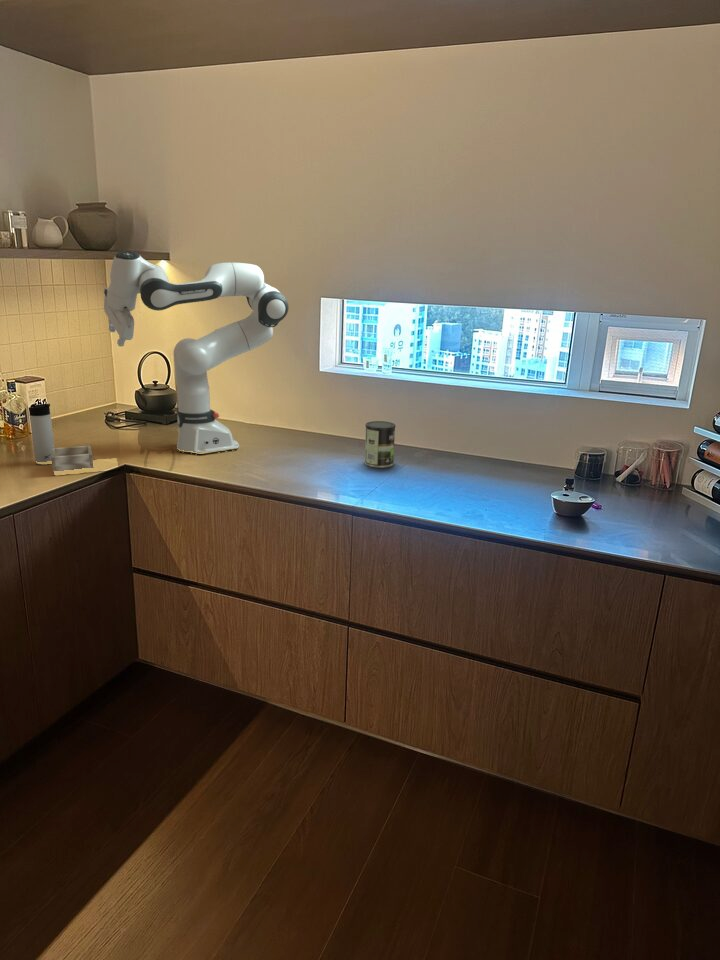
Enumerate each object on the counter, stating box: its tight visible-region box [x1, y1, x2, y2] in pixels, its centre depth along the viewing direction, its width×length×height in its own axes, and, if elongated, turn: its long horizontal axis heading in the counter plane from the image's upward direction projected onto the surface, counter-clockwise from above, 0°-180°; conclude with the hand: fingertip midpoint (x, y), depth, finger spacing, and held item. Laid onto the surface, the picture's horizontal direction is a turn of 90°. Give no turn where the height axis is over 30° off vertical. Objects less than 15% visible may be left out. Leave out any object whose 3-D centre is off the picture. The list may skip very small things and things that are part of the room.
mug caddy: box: [51, 445, 94, 473], centre depth 220 cm, size 20×12×6 cm, turn 114°
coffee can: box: [364, 420, 396, 469], centre depth 233 cm, size 10×10×14 cm
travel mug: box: [28, 403, 55, 462], centre depth 222 cm, size 6×7×20 cm
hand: (116, 338), depth 227 cm, fingers open, 8 cm apart
